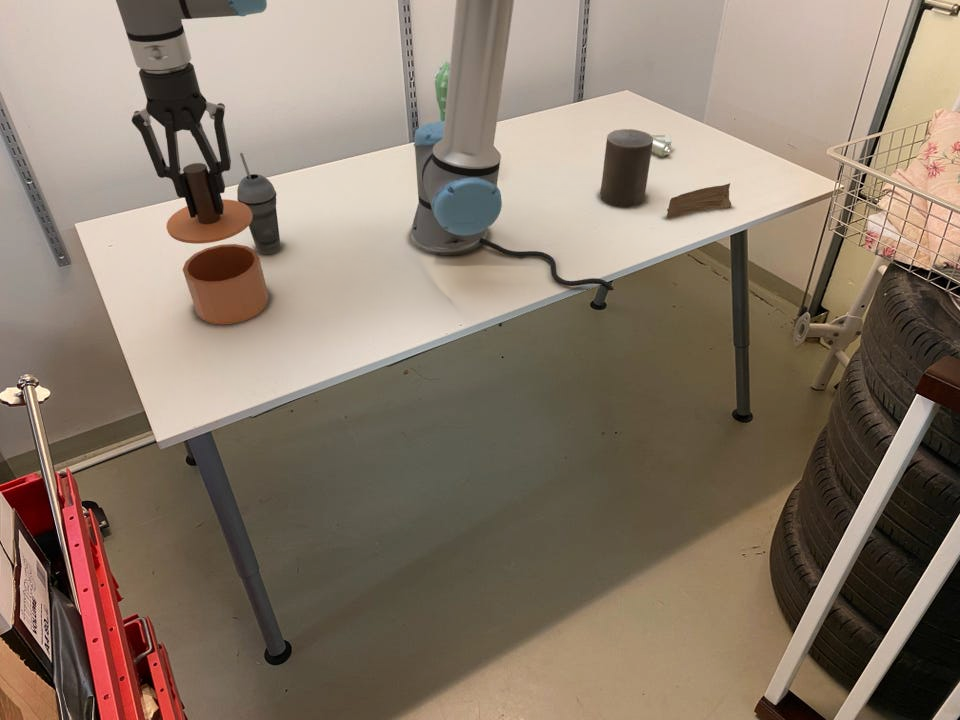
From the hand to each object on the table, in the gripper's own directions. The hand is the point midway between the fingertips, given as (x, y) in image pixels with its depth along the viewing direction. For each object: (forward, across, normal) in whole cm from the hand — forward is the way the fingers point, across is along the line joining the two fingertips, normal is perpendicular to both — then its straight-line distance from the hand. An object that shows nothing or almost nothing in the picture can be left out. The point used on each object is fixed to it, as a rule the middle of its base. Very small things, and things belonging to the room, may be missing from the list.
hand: (207, 211), depth 118 cm
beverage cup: (+19, +6, +18) cm, 26 cm away
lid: (+2, 0, 0) cm, 2 cm away
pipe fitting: (+19, +98, +42) cm, 108 cm away
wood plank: (+19, +96, +12) cm, 98 cm away
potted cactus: (+19, +49, +42) cm, 68 cm away
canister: (+18, 0, 0) cm, 18 cm away
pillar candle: (+19, +82, +22) cm, 87 cm away
